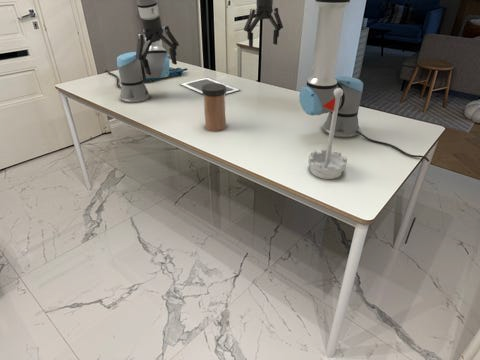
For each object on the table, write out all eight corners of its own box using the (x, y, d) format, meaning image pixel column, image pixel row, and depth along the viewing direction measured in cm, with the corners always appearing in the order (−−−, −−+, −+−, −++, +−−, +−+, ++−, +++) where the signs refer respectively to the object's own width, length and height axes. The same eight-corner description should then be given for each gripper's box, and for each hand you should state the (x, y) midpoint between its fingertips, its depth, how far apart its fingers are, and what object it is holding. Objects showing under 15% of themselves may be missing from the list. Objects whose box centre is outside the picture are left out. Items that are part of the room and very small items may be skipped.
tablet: (180, 84, 205) (180, 83, 205) (207, 78, 216) (207, 77, 216) (211, 98, 184) (211, 97, 184) (240, 90, 196) (240, 89, 195)
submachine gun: (172, 62, 238) (192, 67, 221) (173, 67, 240) (192, 73, 223) (126, 71, 219) (143, 77, 202) (127, 77, 221) (145, 84, 204)
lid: (225, 96, 141) (224, 90, 139) (201, 96, 141) (200, 90, 140) (226, 88, 149) (226, 83, 148) (203, 88, 149) (203, 83, 148)
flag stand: (330, 158, 128) (344, 79, 112) (352, 176, 118) (370, 92, 102) (300, 165, 124) (309, 84, 108) (320, 183, 114) (333, 97, 98)
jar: (225, 131, 150) (224, 91, 140) (204, 131, 150) (201, 91, 140) (226, 122, 157) (225, 84, 148) (206, 122, 158) (204, 84, 148)
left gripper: (127, 27, 126) (142, 81, 140) (181, 10, 138) (189, 61, 152) (117, 23, 130) (132, 76, 144) (170, 7, 143) (179, 57, 157)
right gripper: (283, -6, 163) (280, 41, 174) (236, -3, 154) (237, 46, 166) (292, -4, 157) (288, 44, 169) (243, -2, 148) (243, 49, 160)
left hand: (161, 68), depth 148 cm, fingers open, 13 cm apart
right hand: (263, 45), depth 167 cm, fingers open, 13 cm apart
